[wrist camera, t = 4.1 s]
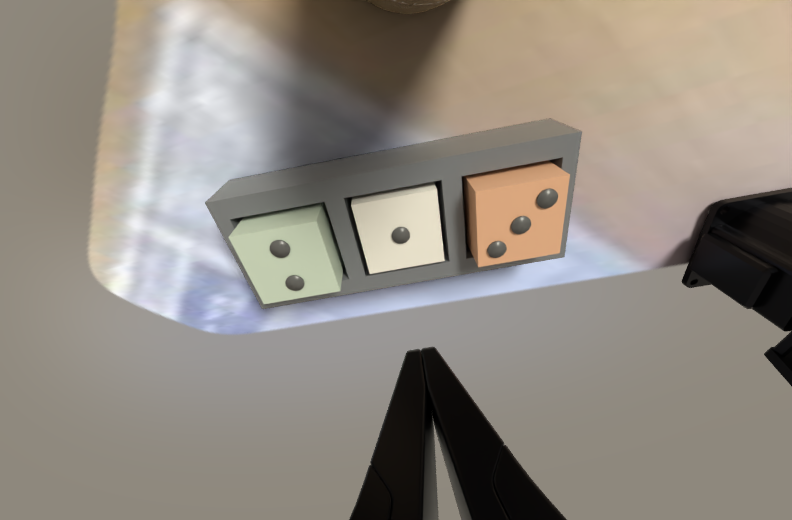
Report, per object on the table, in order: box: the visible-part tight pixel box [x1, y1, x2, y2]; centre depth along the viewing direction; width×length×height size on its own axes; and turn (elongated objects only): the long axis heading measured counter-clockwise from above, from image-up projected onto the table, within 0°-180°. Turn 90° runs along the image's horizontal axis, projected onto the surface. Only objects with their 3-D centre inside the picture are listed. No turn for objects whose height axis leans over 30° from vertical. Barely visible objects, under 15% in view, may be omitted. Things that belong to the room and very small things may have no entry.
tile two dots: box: [228, 202, 344, 304], centre depth 16 cm, size 4×4×3 cm
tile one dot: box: [351, 182, 445, 274], centre depth 17 cm, size 4×4×3 cm
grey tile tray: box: [205, 118, 582, 309], centre depth 17 cm, size 17×7×3 cm, turn 100°
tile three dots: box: [462, 160, 570, 267], centre depth 16 cm, size 4×4×3 cm
